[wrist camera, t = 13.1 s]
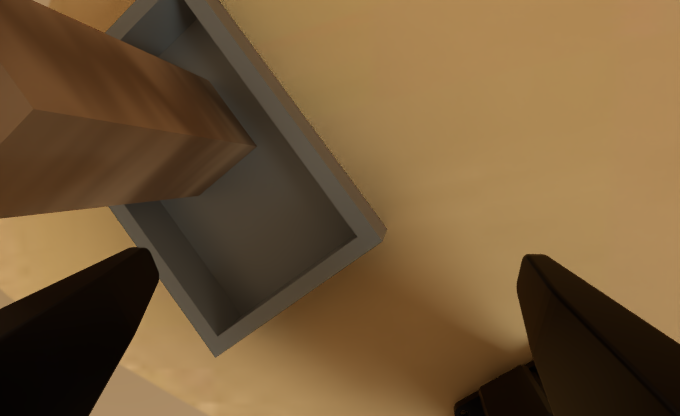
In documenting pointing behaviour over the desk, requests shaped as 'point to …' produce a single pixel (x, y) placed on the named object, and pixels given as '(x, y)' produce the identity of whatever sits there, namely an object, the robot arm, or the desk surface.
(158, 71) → the walnut block
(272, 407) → the desk surface
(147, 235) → the tray
